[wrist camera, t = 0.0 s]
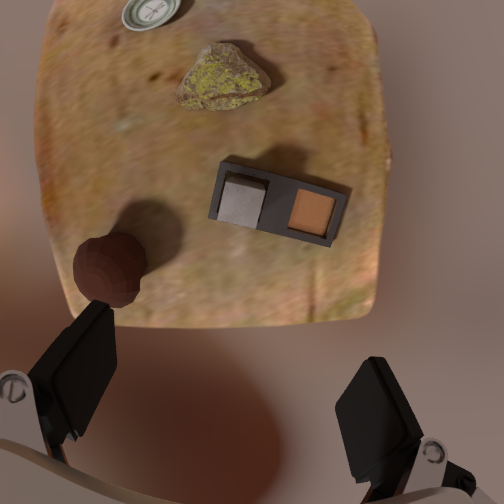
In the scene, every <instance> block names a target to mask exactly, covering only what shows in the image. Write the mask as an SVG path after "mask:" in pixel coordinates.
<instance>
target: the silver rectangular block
mask: <svg viewBox="0 0 504 504" xmlns="http://www.w3.org/2000/svg"><path fill="white" fill-rule="evenodd" d="M264 195H265V188H264V185H263V183H259V182H255V181H251V180H247V179H243V178H238V177H234V176H231V177H230V178H229V179H228V180H227V181H226V183H225V187H224V191H223V196H222V200H221V204H220V209H219V213H218V218H217V220H219V221H224V222H228V223H232V224H237V225H241V226H245V227H249V228H253V229H256V226H257V222H258V218H259V214H260V210H261V206H262V203H263V199H264Z"/></svg>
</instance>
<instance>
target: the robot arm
mask: <svg viewBox="0 0 504 504" xmlns="http://www.w3.org/2000/svg"><path fill="white" fill-rule="evenodd" d="M116 367H117V355H116V342H115V326H114V311H113V309H110V305H109V304H108V303H105V302H102V301H99V300H96V299H94V300H93V301H92V302H91V303H90V304H89V305H88V306H87V307H86V308H85V309H84V310H83V312H82V313H81V314H80V315H79V316H78V317H77V318H76V319H75V321H74V322H73V323H72V324H71V325H70V326H69V327H67V328H65V329H64V330H63V331H62V332H61V334H60V335H59V336H58V337H57V338H56V339H55V341H54V342H53V343H52V344H51V345H50V347H49V348H48V349H47V350H46V352H45V353H44V354H43V355H42V356H41V358H40V359H39V360H38V362H37V363H36V364H35V365H34V367H33V368H32V369H31V370H30V372H29V373H28V374H27V375H25V374H24V373H23V372H20V371H17V370H9V371H5V372H3V373H1V374H0V504H180V503H175V502H171V501H166V500H162V499H158V498H155V497H151V496H147V495H144V494H140V493H137V492H134V491H130V490H128V489H125V488H122V487H119V486H116V485H113V484H111V483H108V482H105V481H103V480H100V479H98V478H95V477H93V476H90V475H88V474H86V473H83V472H81V471H79V470H77V469H75V468H72V467H70V465H69V463H68V460H67V458H66V455H65V452H64V449H63V446H62V444H63V442H64V440H65V438H68V439H70V440H72V441H74V442H76V440H77V438H78V436H79V437H82V436H83V435H84V433H85V431H86V429H87V426H88V424H89V422H90V420H91V418H92V416H93V414H94V412H95V410H96V408H97V406H98V404H99V401H100V399H101V397H102V395H103V394H104V391H105V390H106V388H107V386H108V384H109V382H110V380H111V378H112V376H113V374H114V372H115V370H116ZM335 412H336V415H337V419H338V423H339V427H340V430H341V435H342V438H343V442H344V446H345V450H346V454H347V458H348V462H349V466H350V471H351V474H352V476H353V477H354V478H355V479H356V483H363V482H368V481H370V482H371V486H370V488H369V489H368V491H367V493H366V495H365V497H364V498H363V500H362V502H361V503H360V504H496V503H495V502H494V501H493V500H492V499H491V498H490V497H489V496H488V495H486V494H485V493H484V492H483V491H482V490H481V489H480V488H479V487H476V480H475V477H474V476H473V475H472V473H470V472H469V471H467V470H465V469H463V468H461V467H459V466H457V465H455V464H453V463H451V462H450V461H448V460H447V458H448V453H447V449H446V447H445V446H444V444H443V443H442V442H441V441H439V440H437V439H434V438H427V439H425V440H423V441H422V442H421V440H420V439H421V438H422V437H423V436H424V434H423V432H422V430H421V428H420V426H419V423H418V422H417V419H416V417H415V415H414V413H413V411H412V409H411V407H410V405H409V403H408V401H407V399H406V397H405V395H404V394H403V391H402V390H401V387H400V386H399V383H398V382H397V380H396V378H395V376H394V374H393V372H392V370H391V369H390V367H389V365H388V363H387V361H386V359H385V358H383V357H373V356H371V357H369V358H368V359H367V360H365V361H364V362H363V363H362V365H361V367H360V368H359V370H358V371H357V373H356V374H355V376H354V378H353V379H352V381H351V382H350V384H349V385H348V387H347V389H346V390H345V391H344V393H343V394H342V395H341V397H340V398H339V400H338V401H337V403H336V406H335Z"/></svg>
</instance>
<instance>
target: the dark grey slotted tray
mask: <svg viewBox="0 0 504 504" xmlns="http://www.w3.org/2000/svg"><path fill="white" fill-rule="evenodd" d="M227 170H228V171H232V172H236V173H241V174H245V175H249V176H253V177H257V178H261V179H265V180H269V183H268V187H267V191H266V194H265V198H264V202H263V206H262V210H261V213H260V217H259V220H258V222H257V226H256V229H257V230H261V231H265V232H269V233H274V234H278V235H282V236H286V237H290V238H294V239H298V240H302V241H306V242H310V243H314V244H318V245H322V246H326V247H329V248H330V247H331V244H332V241H333V238H334V235H335V232H336V229H337V226H338V223H339V220H340V217H341V214H342V211H343V208H344V204H345V201H346V198H347V195H345V194H343V193H339V192H336V191H333V190H330V189H327V188H323V187H320V186H317V185H313V184H310V183H307V182H303V181H300V180H296V179H293V178H289V177H285V176H282V175H278V174H274V173H270V172H266V171H262V170H258V169H254V168H250V167H246V166H241V165H237V164H233V163H228V162H224V161H220V166H219V170H218V174H217V179H216V183H215V187H214V192H213V197H212V201H211V206H210V210H209V215H208V218H210V219H214V220H217V218H218V213H219V211H218V207H219V203H220V198H221V194H222V189H223V185H224V181H225V176H226V172H227ZM334 202H335V203H334ZM333 205H334V206H333ZM331 212H332V213H331ZM330 215H331V216H330ZM329 218H330V219H329ZM328 221H329V222H328ZM223 222H224V221H223ZM227 223H228V222H227ZM236 225H237V224H236ZM240 226H241V225H240ZM244 227H245V226H244ZM288 227H290V228H288ZM292 228H294V229H292ZM296 229H298V230H296ZM300 230H302V231H300ZM304 231H305V232H304ZM308 232H309V233H308ZM312 233H313V234H312ZM316 234H317V235H316ZM319 235H321V236H319ZM323 236H324V237H323Z"/></svg>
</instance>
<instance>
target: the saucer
mask: <svg viewBox="0 0 504 504" xmlns="http://www.w3.org/2000/svg"><path fill="white" fill-rule="evenodd" d="M180 4H181V0H130V1H129V2H128V3H127V4H126V6H125V8H124V10H123V13H122V21H123V24H124V25H125V26H126V27H127V28H128V29H130V30H133V31H147V30H151V29H154V28H157V27H159V26H161V25H162V24H164V23H166V22H167V21H168V20H170V19H171V18H172V17H173V16H174V15H175V13H176V12H177V11H178V9H179V7H180Z"/></svg>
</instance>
